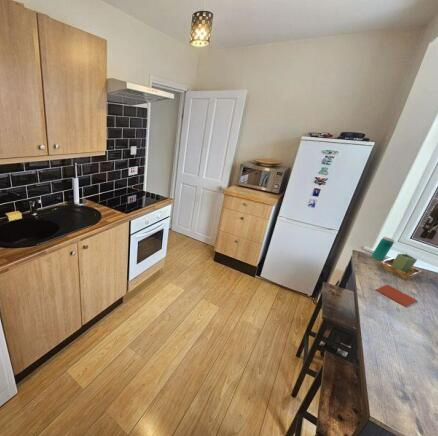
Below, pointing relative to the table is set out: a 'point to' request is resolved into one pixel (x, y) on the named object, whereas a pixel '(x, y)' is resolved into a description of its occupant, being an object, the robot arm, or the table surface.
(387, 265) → the rattan basket
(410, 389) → the table surface
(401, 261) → the green basket
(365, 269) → the table surface
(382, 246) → the beverage can
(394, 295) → the mat
